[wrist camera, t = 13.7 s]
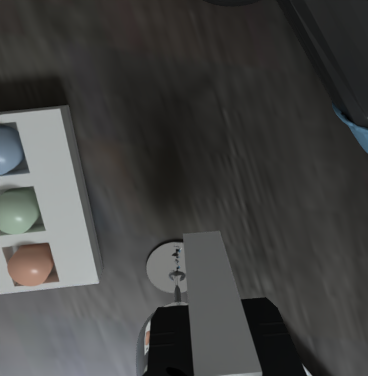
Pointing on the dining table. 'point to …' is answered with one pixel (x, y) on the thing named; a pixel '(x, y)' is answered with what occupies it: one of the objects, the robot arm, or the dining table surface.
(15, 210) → the sage button
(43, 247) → the terracotta button
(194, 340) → the robot arm
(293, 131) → the dining table surface
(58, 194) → the button panel
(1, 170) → the slate button
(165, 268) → the wineglass
